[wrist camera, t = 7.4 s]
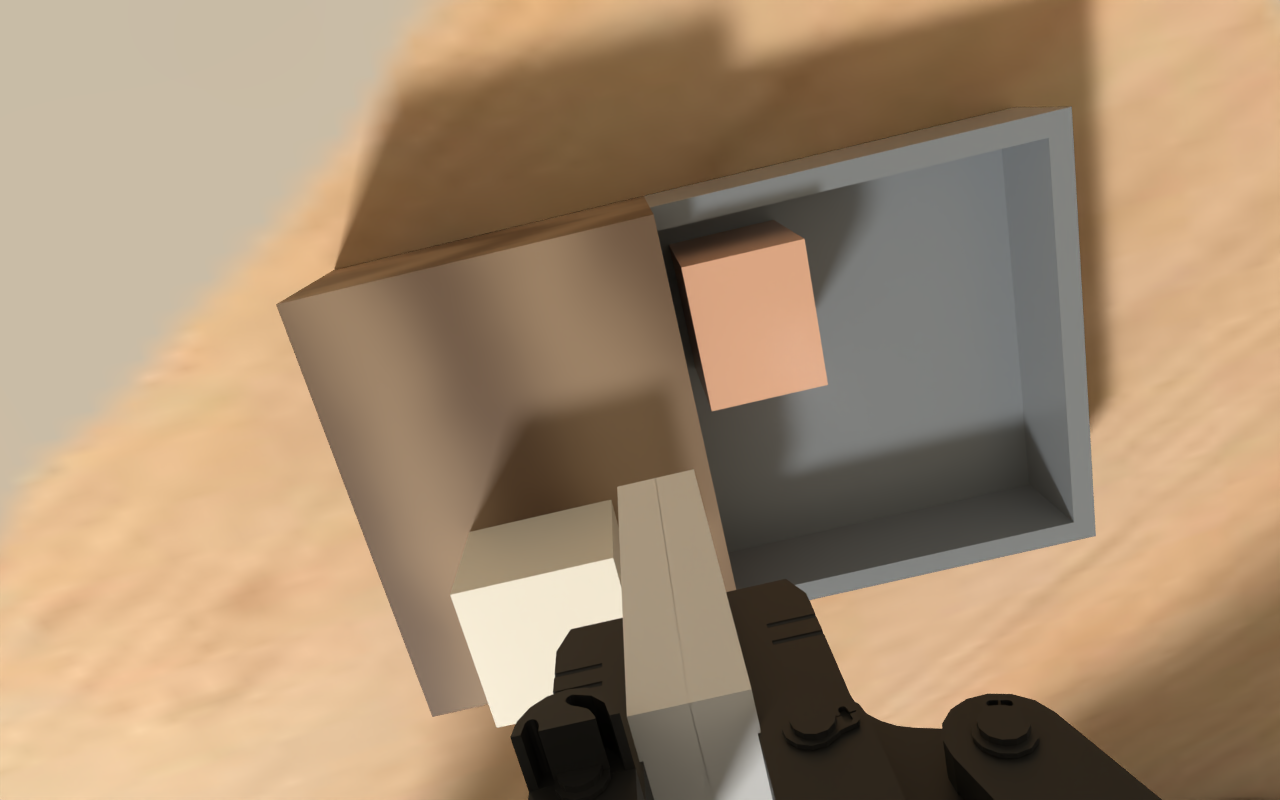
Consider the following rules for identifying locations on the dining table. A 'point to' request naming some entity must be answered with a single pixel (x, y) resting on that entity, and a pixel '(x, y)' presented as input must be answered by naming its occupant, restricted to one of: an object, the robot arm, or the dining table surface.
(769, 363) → the salmon orange block
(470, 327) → the block
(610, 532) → the cream block
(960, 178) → the box
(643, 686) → the robot arm
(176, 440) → the dining table surface
